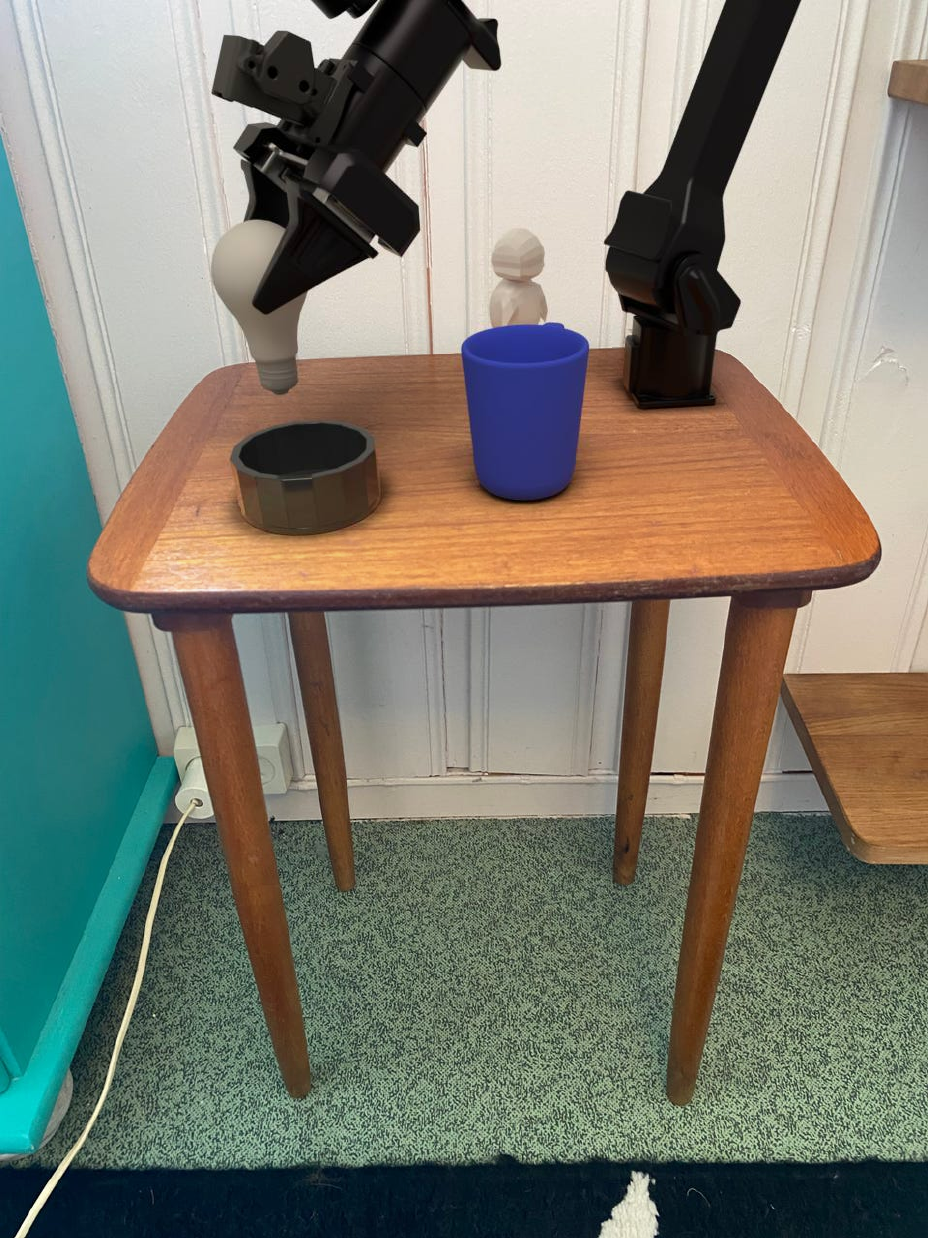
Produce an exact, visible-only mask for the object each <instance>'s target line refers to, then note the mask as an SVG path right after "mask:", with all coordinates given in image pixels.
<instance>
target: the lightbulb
mask: <svg viewBox="0 0 928 1238" xmlns="http://www.w3.org/2000/svg"><path fill="white" fill-rule="evenodd" d="M285 230H286V229H285V228H283V227H281V226H280V225H277V224H275V223H272V222H270V221H264V220H249V221H245V222H243V221H242V222H239V223H236V224H235V225H234V226H232V227H230V228H229V229H228V230H227V231H226V232H224V234H222V235H221V237H220V238H219V239H218V241H217V243H216V245H215V247H214V249H213V251H212V252H213V253H212V254H211V255H212V256H211V263H210V275H211V276H210V277H211V281H212V285H213V287H214V289H215V292H216V294H217V295H218V297H219V298H220V300H221V301H222V303H223V305H224V306H225V307H226V308H227V310H228V311H229V312H230V314H231V315H232V316H233V318H234V319H235V320H236V321H237V323H238V325H239V327H240V329H241V331H242V332H243V336H244V337H245V340H246V343H247V346H248V350H249V354H250V356H251V358H252V359H253V360H254V362H255V367H256V370H257V375H258V378H259V382H260V386H261V387H262V388H263V389H264V390H267V391H269V392H272V394H274V395H276V396H282V395H285V394H288V393H289V392H290V390H291V389H293V388H294V387H295V386H296V385H297V384H298V382H299V377H298V374H299V373H298V372H299V371H298V365H297V354H298V352H299V344H298V343H299V342H298V330H299V329H298V327H299V321H300V316H301V312H302V311H303V310H302V309H303V307H304V304H305V302H306V299H307V295H308V292H309V291H307V292H305V293H304V294H302V295H300V296H299V297H297V298H295V299H293V300H292V301H290V302H288V303H287V304H285V305H283V306H282V307H280V308H278V309H276V310H275V311H273V312H271V313H270V314H268V315H264V314H262V313H261V312H260V311H258V310H257V309H256V308H254V307H253V305H252V300H253V298H254V295H255V293H256V291H257V288H258V286H259V284H260V281H261V279H262V277H263V275H264V273H265V271H266V269H267V267H268V265H269V263H270V261H271V259H272V256H273V254H274V252H275V250H276V248H277V246H278V244H279V242H280V240H281V238H282V236H283V234H284V232H285Z"/></svg>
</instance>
